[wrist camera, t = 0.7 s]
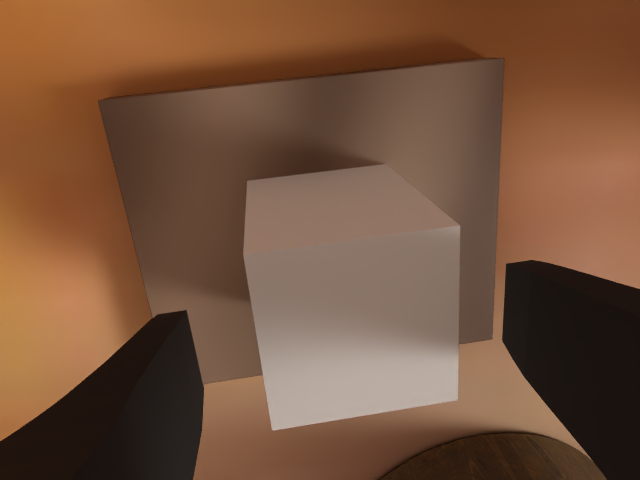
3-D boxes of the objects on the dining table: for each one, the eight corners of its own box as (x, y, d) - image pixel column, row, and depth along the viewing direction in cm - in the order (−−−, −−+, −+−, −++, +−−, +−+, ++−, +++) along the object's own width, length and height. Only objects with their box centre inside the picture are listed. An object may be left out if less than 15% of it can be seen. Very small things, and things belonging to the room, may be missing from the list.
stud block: (486, 57, 16) (594, 59, 11) (478, 323, 19) (556, 415, 14) (109, 97, 15) (36, 118, 10) (175, 369, 18) (146, 485, 13)
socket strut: (385, 163, 15) (460, 225, 10) (391, 287, 17) (457, 400, 11) (247, 180, 15) (243, 254, 10) (266, 305, 17) (271, 430, 11)
